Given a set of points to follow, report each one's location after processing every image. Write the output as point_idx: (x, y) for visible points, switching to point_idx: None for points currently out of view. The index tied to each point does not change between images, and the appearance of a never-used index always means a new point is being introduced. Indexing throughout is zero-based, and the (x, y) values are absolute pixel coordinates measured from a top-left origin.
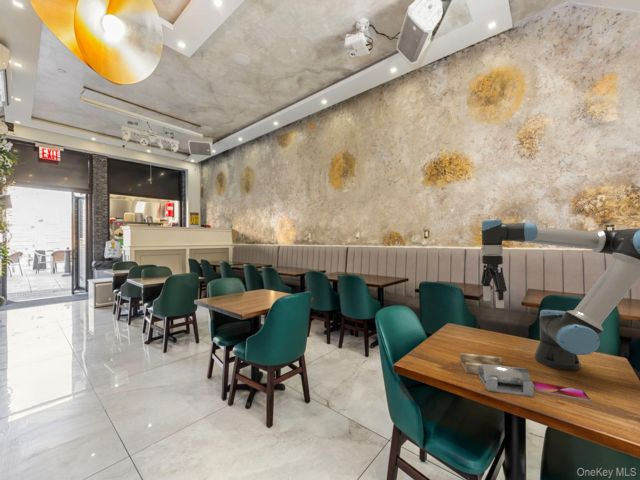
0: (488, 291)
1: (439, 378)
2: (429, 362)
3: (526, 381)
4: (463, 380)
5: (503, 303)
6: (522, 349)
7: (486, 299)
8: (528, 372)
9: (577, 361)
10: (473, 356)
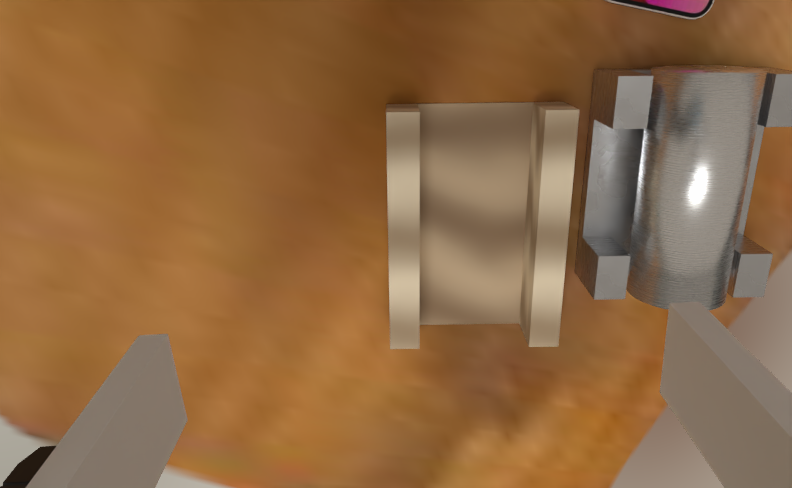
0: (106, 479)
1: (633, 447)
2: (459, 470)
3: (786, 103)
4: (636, 352)
5: (735, 347)
6: None
7: (173, 403)
8: (760, 74)
9: None
10: (418, 280)
